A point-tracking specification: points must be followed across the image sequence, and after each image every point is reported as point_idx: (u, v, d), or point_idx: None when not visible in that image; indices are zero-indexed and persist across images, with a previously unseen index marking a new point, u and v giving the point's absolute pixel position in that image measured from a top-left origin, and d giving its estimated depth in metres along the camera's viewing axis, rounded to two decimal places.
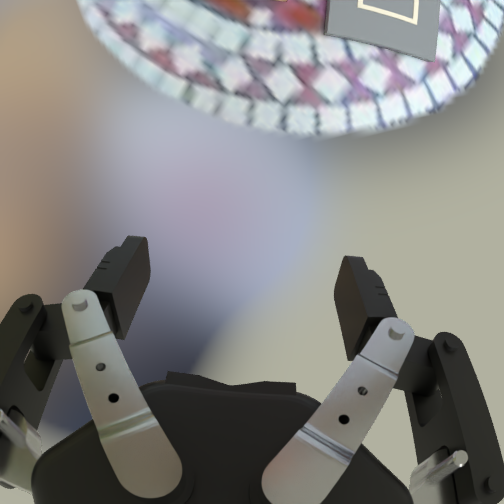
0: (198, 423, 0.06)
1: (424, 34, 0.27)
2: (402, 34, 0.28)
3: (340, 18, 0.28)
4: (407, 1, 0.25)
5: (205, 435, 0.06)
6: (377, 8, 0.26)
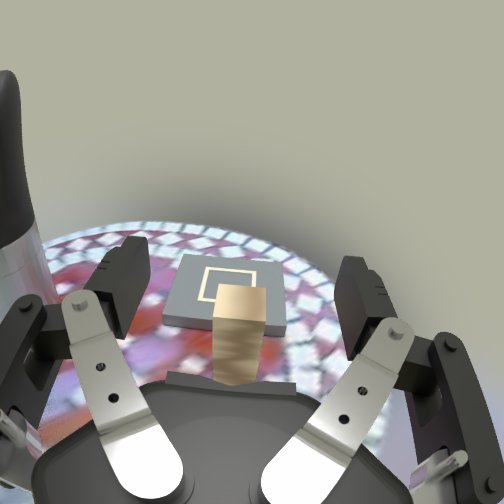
0: (198, 423, 0.06)
1: (262, 268, 0.50)
2: (268, 280, 0.48)
3: (269, 317, 0.41)
4: (236, 276, 0.48)
5: (205, 435, 0.06)
6: None
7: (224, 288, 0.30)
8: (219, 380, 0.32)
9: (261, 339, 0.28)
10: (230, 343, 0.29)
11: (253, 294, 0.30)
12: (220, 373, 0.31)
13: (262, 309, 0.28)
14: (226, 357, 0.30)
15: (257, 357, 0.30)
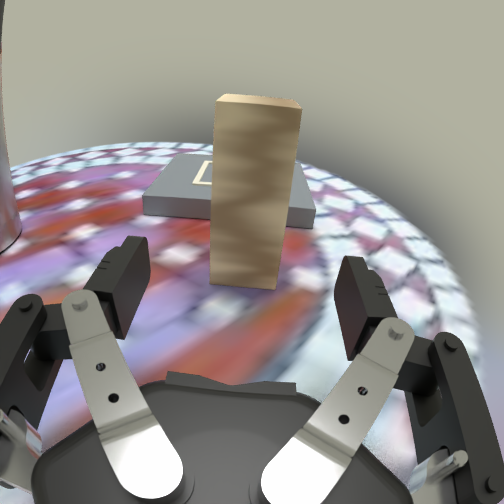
0: (198, 423, 0.06)
1: None
2: None
3: (291, 201, 0.30)
4: None
5: (205, 435, 0.06)
6: None
7: (234, 95, 0.19)
8: (220, 257, 0.21)
9: (294, 150, 0.17)
10: (242, 162, 0.17)
11: (277, 99, 0.18)
12: (222, 239, 0.20)
13: (293, 104, 0.17)
14: (234, 196, 0.18)
15: (286, 195, 0.18)
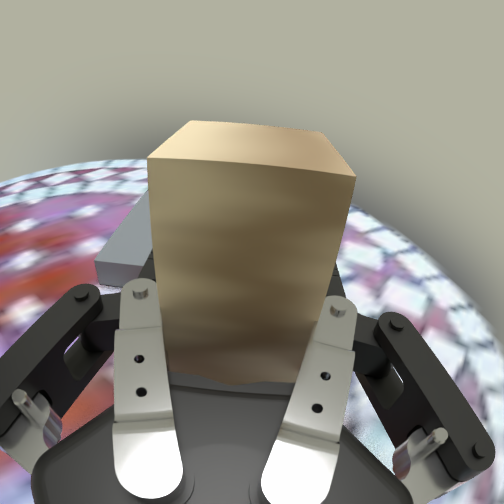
0: (198, 423, 0.06)
1: None
2: None
3: None
4: None
5: (205, 435, 0.06)
6: None
7: (206, 124, 0.10)
8: None
9: (330, 266, 0.08)
10: (217, 287, 0.08)
11: (291, 135, 0.09)
12: None
13: (329, 155, 0.08)
14: (206, 339, 0.09)
15: (305, 338, 0.09)
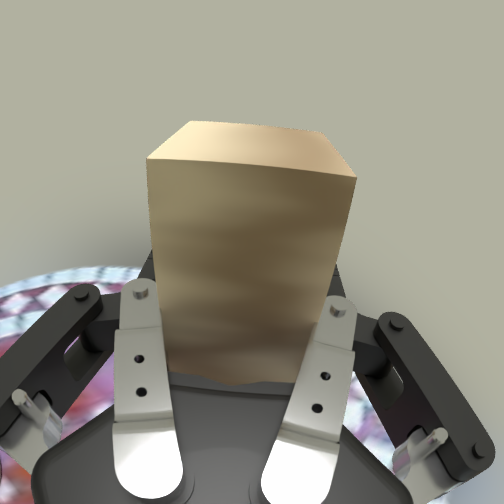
0: (198, 423, 0.06)
1: None
2: None
3: None
4: None
5: (205, 435, 0.06)
6: None
7: (205, 125, 0.10)
8: None
9: (330, 267, 0.08)
10: (217, 288, 0.08)
11: (291, 135, 0.09)
12: None
13: (330, 156, 0.08)
14: (207, 340, 0.09)
15: (306, 340, 0.09)
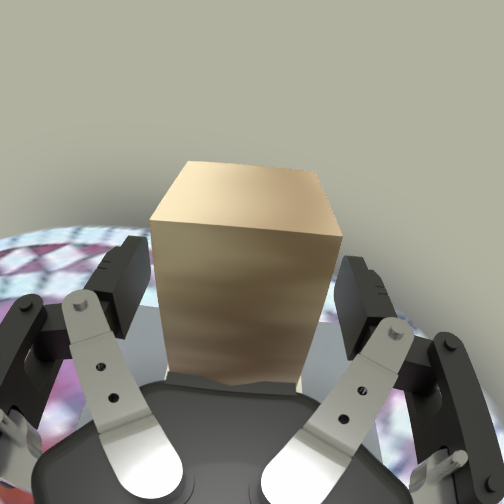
0: (198, 423, 0.06)
1: None
2: (332, 379, 0.18)
3: None
4: None
5: (205, 435, 0.06)
6: None
7: (203, 167, 0.10)
8: None
9: (318, 310, 0.09)
10: (217, 328, 0.09)
11: (285, 179, 0.10)
12: None
13: (320, 208, 0.09)
14: (207, 368, 0.10)
15: (297, 368, 0.10)
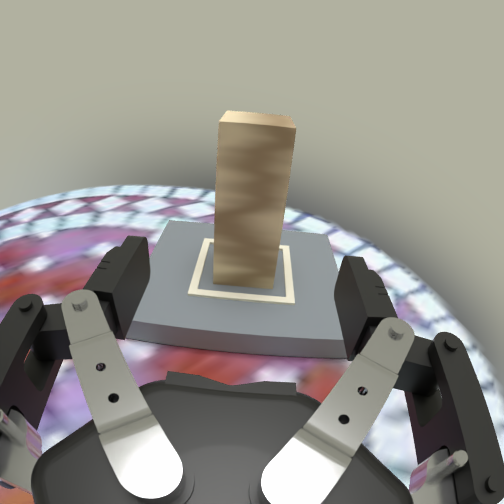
0: (198, 423, 0.06)
1: (297, 241, 0.30)
2: (311, 260, 0.28)
3: (324, 325, 0.21)
4: None
5: (205, 435, 0.06)
6: None
7: (235, 112, 0.21)
8: (223, 260, 0.23)
9: (289, 165, 0.19)
10: (243, 176, 0.19)
11: (274, 116, 0.20)
12: (224, 243, 0.22)
13: (288, 123, 0.19)
14: (236, 206, 0.21)
15: (282, 204, 0.20)
